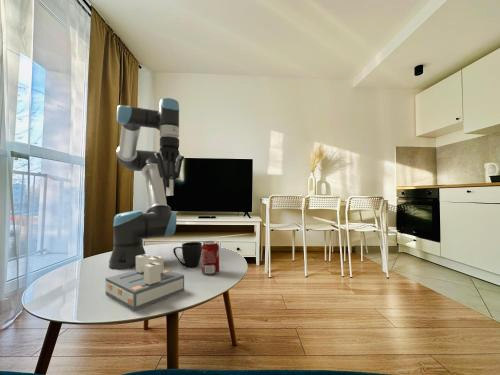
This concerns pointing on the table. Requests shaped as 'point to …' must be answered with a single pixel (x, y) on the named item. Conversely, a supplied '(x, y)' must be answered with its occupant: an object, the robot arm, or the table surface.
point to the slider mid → (157, 260)
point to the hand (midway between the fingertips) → (169, 195)
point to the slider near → (152, 273)
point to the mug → (190, 254)
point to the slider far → (141, 262)
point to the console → (143, 288)
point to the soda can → (210, 258)
